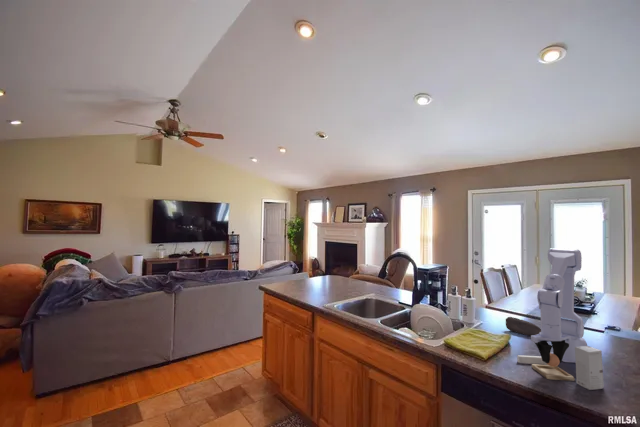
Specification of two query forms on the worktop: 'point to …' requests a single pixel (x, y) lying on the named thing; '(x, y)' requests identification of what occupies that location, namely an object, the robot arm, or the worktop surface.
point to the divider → (530, 359)
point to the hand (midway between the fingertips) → (551, 361)
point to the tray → (553, 372)
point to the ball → (553, 360)
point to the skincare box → (589, 367)
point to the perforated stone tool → (522, 326)
